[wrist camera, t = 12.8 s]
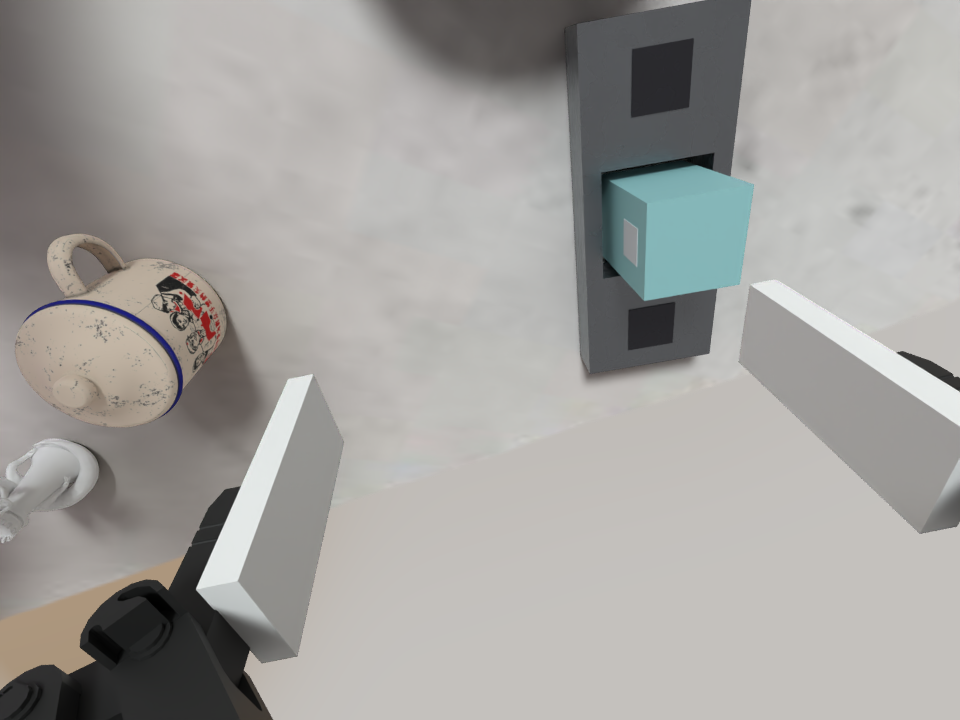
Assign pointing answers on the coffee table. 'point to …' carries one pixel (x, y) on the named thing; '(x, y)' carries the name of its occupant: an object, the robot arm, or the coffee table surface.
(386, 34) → the coffee table surface
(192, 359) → the teacup with lid
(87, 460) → the figurine
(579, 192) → the grey flat slotted block
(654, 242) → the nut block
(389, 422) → the coffee table surface
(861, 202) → the coffee table surface
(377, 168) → the coffee table surface
